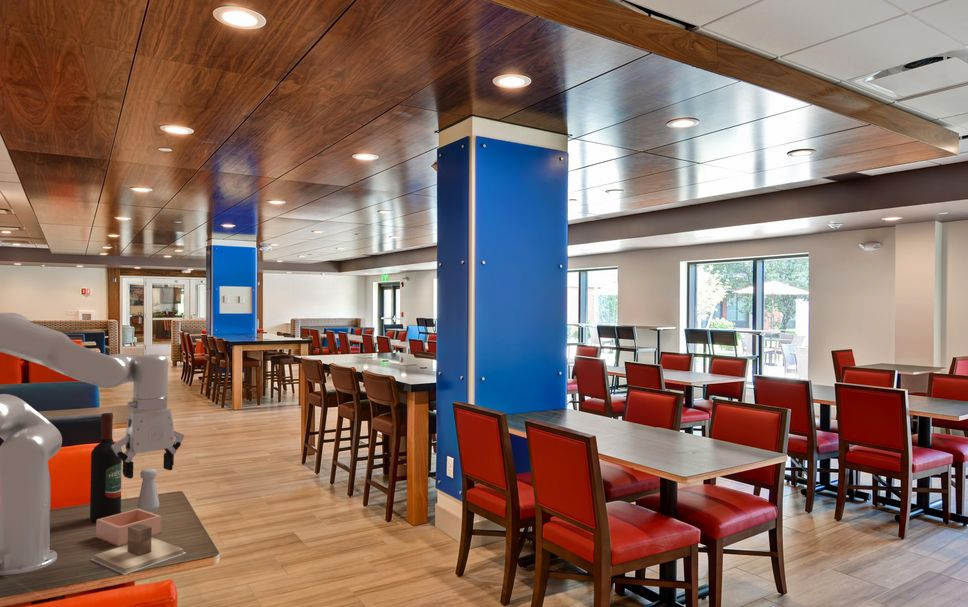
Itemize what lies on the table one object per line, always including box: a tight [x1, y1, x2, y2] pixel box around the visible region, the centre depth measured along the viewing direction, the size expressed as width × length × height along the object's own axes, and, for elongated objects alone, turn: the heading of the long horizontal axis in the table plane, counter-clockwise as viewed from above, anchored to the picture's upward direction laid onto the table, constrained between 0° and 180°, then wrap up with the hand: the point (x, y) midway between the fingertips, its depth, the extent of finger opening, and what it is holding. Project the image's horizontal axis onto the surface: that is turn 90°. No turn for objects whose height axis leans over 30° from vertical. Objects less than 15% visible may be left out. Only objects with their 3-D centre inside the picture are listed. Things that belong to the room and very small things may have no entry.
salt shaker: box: [136, 467, 160, 514], centre depth 182 cm, size 6×6×13 cm
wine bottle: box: [89, 412, 123, 524], centre depth 178 cm, size 8×8×30 cm
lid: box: [93, 524, 184, 573], centre depth 150 cm, size 14×14×7 cm
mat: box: [90, 551, 187, 576], centre depth 150 cm, size 15×15×1 cm
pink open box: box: [95, 508, 162, 547], centre depth 164 cm, size 11×11×5 cm
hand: (148, 473), depth 154 cm, fingers open, 9 cm apart
